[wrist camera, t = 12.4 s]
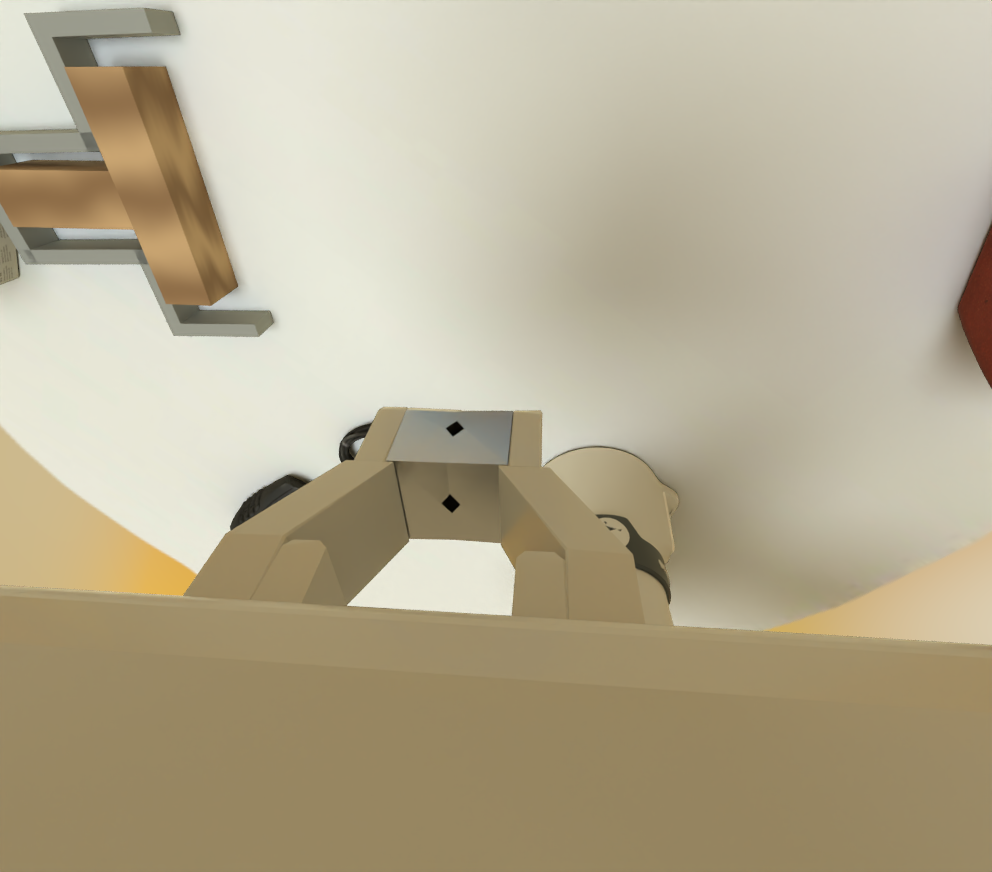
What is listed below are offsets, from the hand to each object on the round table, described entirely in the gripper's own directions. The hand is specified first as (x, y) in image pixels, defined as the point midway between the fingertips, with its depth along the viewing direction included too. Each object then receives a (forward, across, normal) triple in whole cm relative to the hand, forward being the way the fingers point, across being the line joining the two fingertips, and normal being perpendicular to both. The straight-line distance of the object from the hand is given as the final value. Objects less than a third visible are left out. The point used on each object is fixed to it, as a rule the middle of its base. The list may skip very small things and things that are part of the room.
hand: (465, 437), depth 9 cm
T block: (+34, +32, +2) cm, 47 cm away
